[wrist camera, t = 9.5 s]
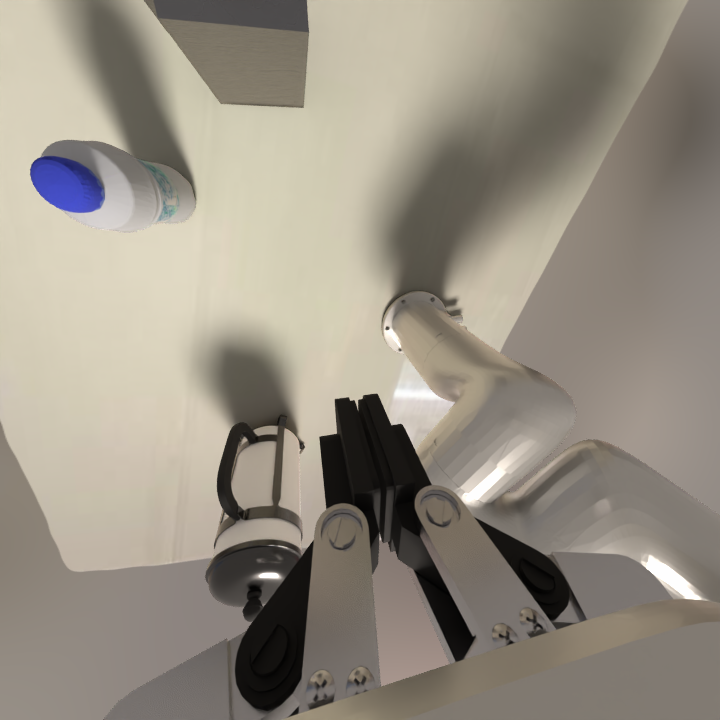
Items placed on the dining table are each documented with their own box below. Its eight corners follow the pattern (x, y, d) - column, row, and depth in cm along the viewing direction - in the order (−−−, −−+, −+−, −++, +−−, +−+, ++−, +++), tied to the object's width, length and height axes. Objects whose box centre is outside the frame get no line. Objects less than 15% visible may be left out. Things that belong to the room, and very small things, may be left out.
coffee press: (320, 421, 59) (339, 587, 33) (287, 469, 64) (281, 644, 38) (241, 394, 51) (186, 580, 26) (210, 450, 56) (140, 652, 31)
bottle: (140, 211, 35) (-6, 216, 18) (143, 152, 32) (-26, 94, 15) (198, 232, 37) (116, 253, 20) (205, 179, 35) (117, 152, 18)
